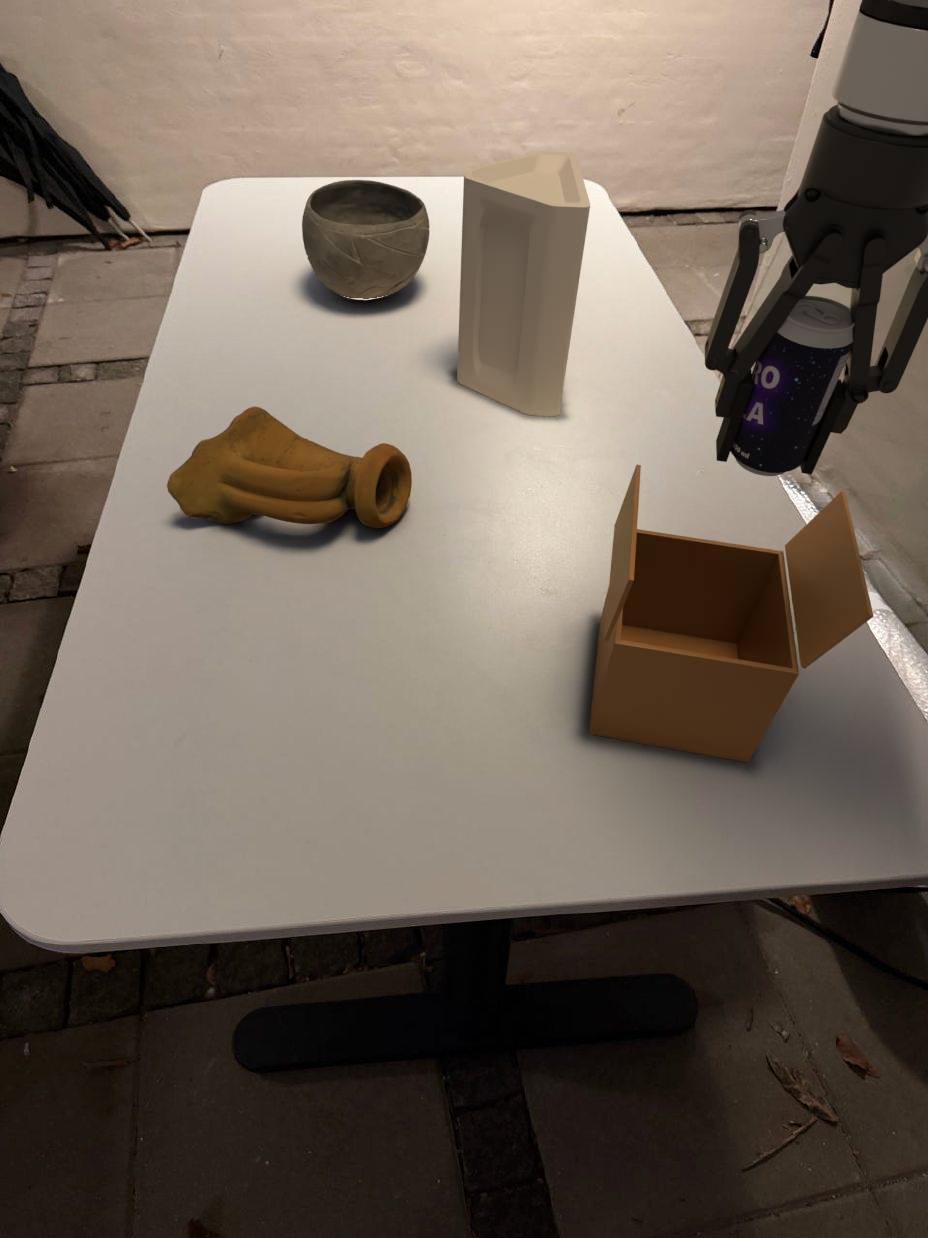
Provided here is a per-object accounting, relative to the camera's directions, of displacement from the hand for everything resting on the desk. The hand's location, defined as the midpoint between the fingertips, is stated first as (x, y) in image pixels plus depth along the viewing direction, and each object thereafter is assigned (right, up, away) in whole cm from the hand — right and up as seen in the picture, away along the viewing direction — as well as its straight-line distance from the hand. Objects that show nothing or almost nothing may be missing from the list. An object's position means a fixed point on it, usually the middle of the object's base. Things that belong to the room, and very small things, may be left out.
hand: (763, 456), depth 60 cm
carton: (-3, -20, +18) cm, 27 cm away
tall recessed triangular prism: (-17, +23, +57) cm, 64 cm away
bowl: (-40, +44, +74) cm, 95 cm away
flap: (+7, -9, +4) cm, 12 cm away
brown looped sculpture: (-44, 0, +34) cm, 55 cm away
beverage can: (0, 0, 0) cm, 1 cm away
